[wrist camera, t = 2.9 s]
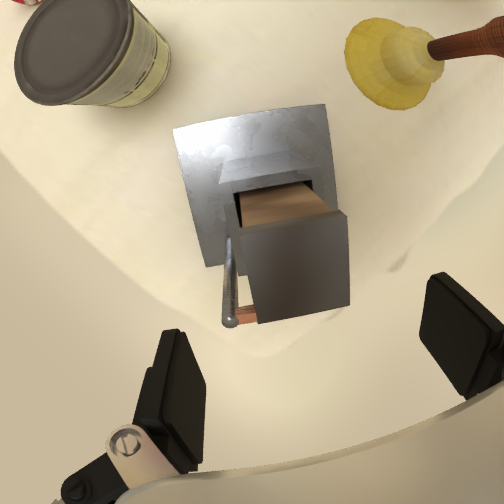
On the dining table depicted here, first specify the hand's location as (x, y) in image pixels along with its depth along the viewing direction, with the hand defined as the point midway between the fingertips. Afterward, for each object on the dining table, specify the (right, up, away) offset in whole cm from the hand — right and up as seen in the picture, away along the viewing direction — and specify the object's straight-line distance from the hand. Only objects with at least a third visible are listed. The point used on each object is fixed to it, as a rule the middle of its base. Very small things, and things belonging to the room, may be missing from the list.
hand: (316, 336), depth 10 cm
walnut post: (-1, +10, +21) cm, 23 cm away
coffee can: (-16, +24, +16) cm, 33 cm away
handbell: (+14, +25, +17) cm, 34 cm away
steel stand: (-1, +10, +22) cm, 25 cm away
